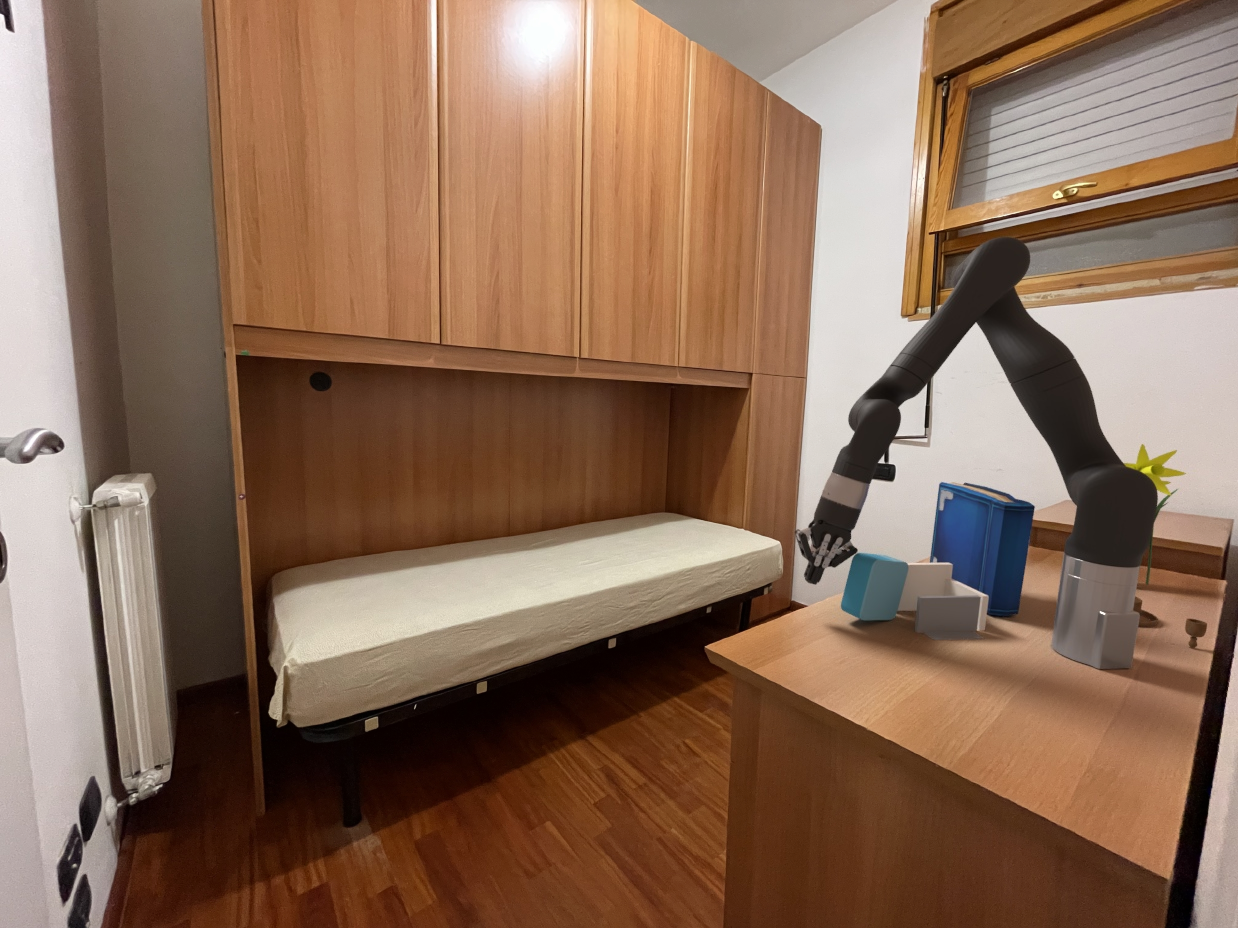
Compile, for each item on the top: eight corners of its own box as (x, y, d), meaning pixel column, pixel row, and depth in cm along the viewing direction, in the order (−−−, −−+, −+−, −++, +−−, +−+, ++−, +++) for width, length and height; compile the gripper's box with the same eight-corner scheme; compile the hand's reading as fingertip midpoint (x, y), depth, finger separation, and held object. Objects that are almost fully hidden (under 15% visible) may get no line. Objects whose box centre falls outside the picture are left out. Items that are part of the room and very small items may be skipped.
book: (1026, 620, 99) (1041, 499, 95) (990, 619, 99) (1005, 498, 96) (955, 581, 120) (966, 481, 117) (925, 581, 120) (936, 480, 117)
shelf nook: (999, 639, 90) (1006, 587, 89) (928, 641, 89) (933, 588, 88) (943, 607, 104) (948, 562, 103) (881, 608, 103) (885, 563, 102)
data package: (874, 610, 102) (889, 555, 101) (895, 620, 98) (910, 562, 97) (838, 610, 96) (853, 551, 95) (859, 620, 92) (875, 559, 91)
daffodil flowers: (1082, 568, 132) (1101, 439, 127) (1163, 584, 121) (1187, 443, 117) (1078, 584, 120) (1099, 442, 116) (1167, 602, 110) (1194, 447, 105)
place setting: (1164, 618, 103) (1169, 591, 102) (1211, 658, 86) (1217, 627, 85) (1055, 599, 112) (1058, 574, 111) (1077, 632, 95) (1082, 603, 94)
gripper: (820, 496, 89) (788, 582, 92) (884, 514, 91) (850, 598, 94) (801, 486, 96) (772, 566, 99) (861, 504, 98) (830, 582, 101)
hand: (810, 582), depth 96 cm, fingers closed
